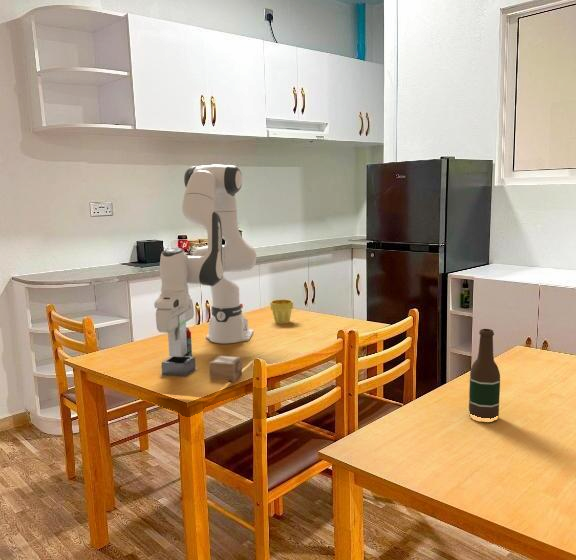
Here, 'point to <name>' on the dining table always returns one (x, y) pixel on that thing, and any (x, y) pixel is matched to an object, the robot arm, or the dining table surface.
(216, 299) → the robot arm
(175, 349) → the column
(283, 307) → the plant pot
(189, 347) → the beverage can
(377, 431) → the dining table surface
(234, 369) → the pedestal
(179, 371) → the grey square bin
